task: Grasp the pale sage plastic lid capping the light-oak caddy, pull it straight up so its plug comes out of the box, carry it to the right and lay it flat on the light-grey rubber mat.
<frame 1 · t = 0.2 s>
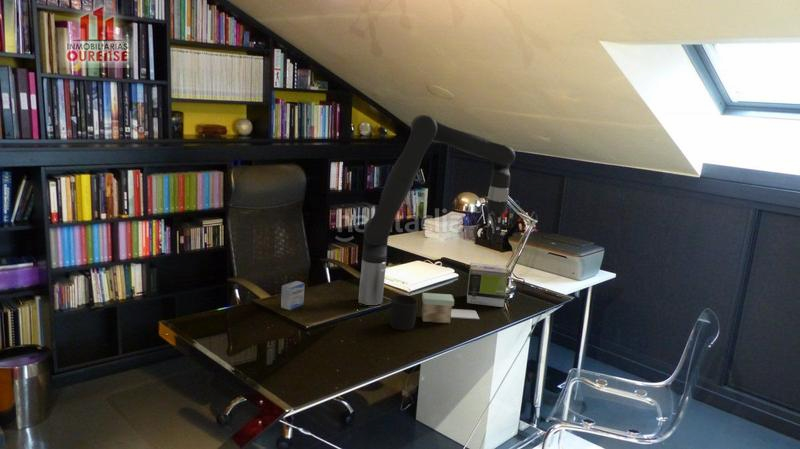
hand: (491, 240, 230), 29 cm above the table, fingers open, 8 cm apart
pen holder: (401, 326, 214), on the table
box: (435, 319, 223), on the table
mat: (461, 314, 231), on the table
tea box: (484, 302, 247), on the table
medicine box: (292, 306, 223), on the table
lid: (437, 301, 221), point 7 cm above the table, touching box
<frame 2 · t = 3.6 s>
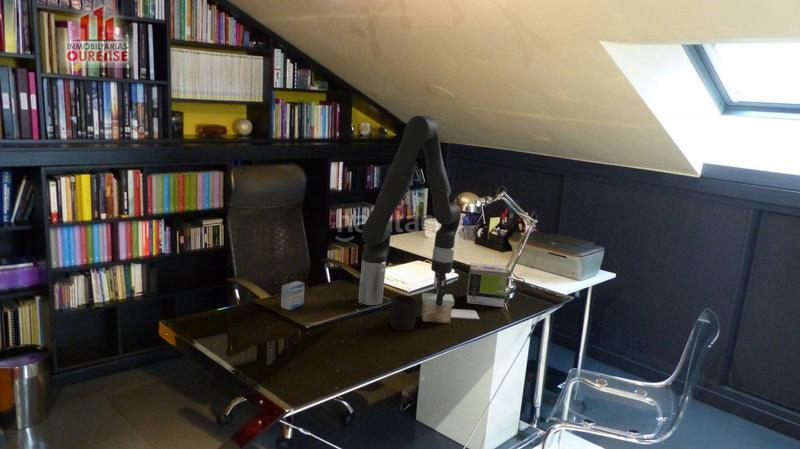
hand: (437, 301, 221), 7 cm above the table, fingers closed on lid, 6 cm apart
lid: (437, 301, 221), point 7 cm above the table, touching box, gripper
everything else where it was.
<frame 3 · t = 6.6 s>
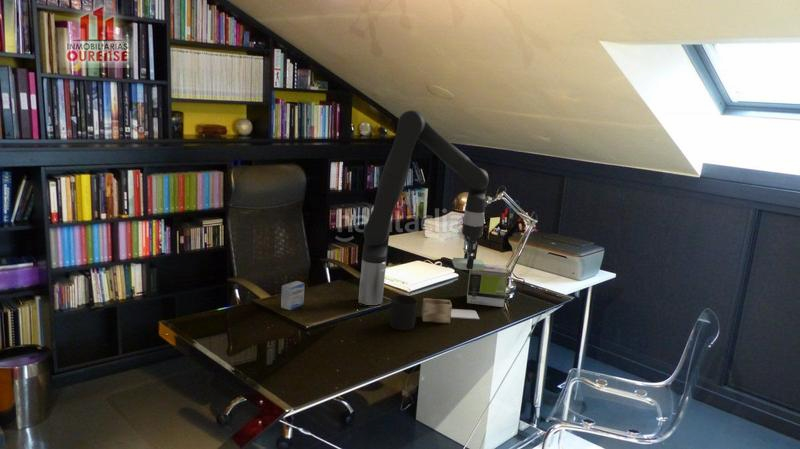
hand: (467, 265, 226), 19 cm above the table, fingers closed on lid, 6 cm apart
lid: (468, 266, 226), point 19 cm above the table, touching gripper
everything else where it was.
when the fingers open (3 cm above the table, at t = 9.6 s): lid drops 1 cm, resting on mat.
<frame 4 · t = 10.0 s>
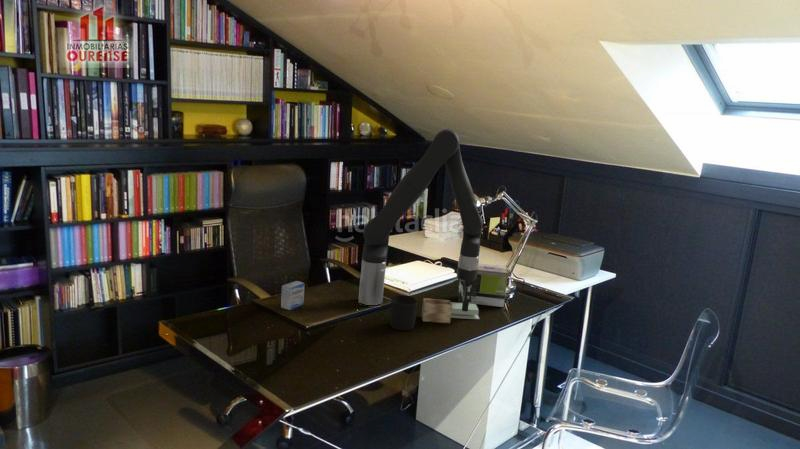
hand: (462, 306, 230), 3 cm above the table, fingers open, 8 cm apart
lid: (462, 310, 230), point 1 cm above the table, touching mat
everything else where it was.
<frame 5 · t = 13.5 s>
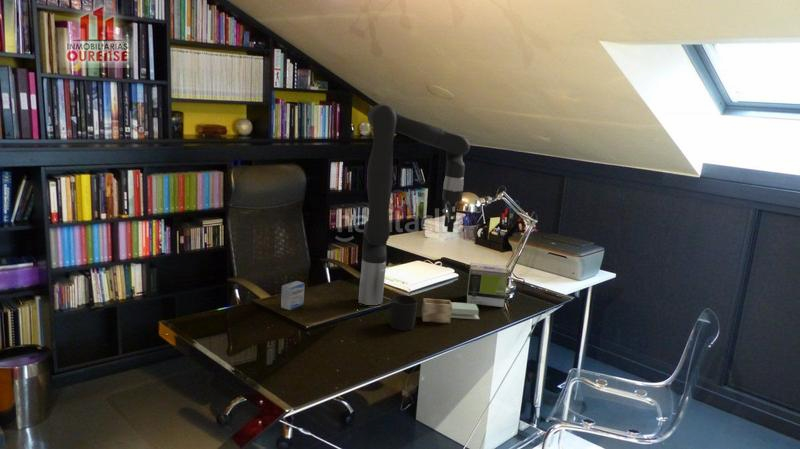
hand: (448, 229, 235), 30 cm above the table, fingers open, 8 cm apart
nothing on the table moved.
at the end: lid inside the target area on the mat (0.0 cm from its centre), point 1.4 cm above the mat's base; lid tilted 0°; lid touching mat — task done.
